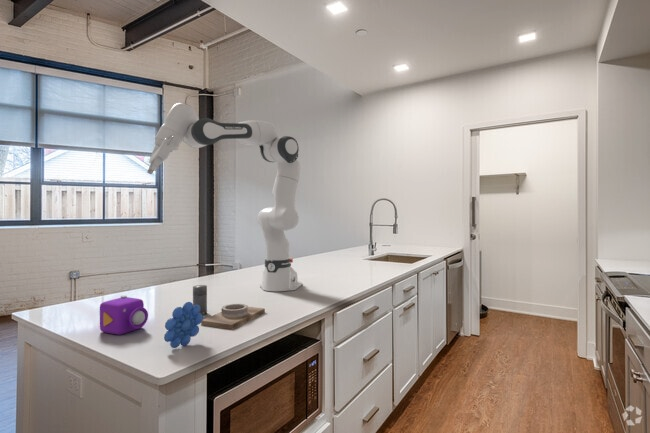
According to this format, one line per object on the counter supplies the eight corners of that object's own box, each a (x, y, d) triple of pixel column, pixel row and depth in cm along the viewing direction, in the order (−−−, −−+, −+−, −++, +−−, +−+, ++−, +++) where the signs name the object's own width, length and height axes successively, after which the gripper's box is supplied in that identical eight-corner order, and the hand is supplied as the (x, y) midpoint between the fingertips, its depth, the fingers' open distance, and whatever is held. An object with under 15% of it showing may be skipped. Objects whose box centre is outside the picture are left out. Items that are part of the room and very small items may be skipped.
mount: (237, 309, 137) (237, 298, 137) (264, 312, 133) (264, 301, 133) (201, 324, 119) (201, 312, 119) (231, 329, 114) (231, 316, 114)
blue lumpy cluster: (193, 336, 108) (193, 296, 108) (207, 341, 104) (207, 299, 104) (155, 348, 99) (155, 304, 98) (169, 354, 95) (169, 308, 94)
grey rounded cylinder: (199, 311, 134) (199, 284, 134) (209, 312, 133) (209, 285, 133) (190, 314, 130) (189, 287, 130) (200, 316, 128) (200, 288, 128)
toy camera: (133, 338, 107) (132, 304, 106) (93, 335, 109) (93, 302, 109) (157, 326, 117) (156, 295, 117) (120, 323, 120) (120, 293, 120)
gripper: (182, 139, 132) (164, 172, 128) (170, 149, 149) (155, 179, 145) (165, 129, 129) (147, 163, 125) (155, 141, 146) (139, 171, 142)
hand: (151, 171), depth 135 cm, fingers open, 8 cm apart
